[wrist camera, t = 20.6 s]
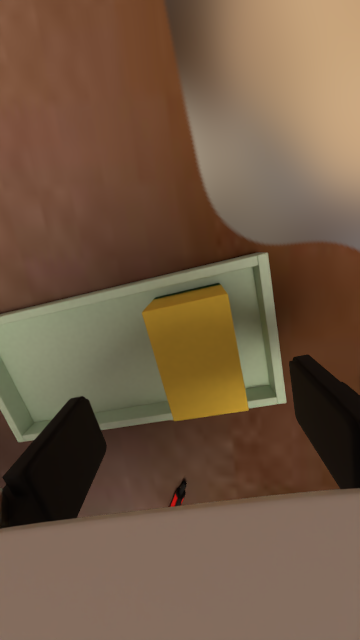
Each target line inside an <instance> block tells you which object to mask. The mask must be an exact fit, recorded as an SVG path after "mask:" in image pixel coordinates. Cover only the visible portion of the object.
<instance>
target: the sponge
mask: <svg viewBox="0 0 360 640" xmlns="http://www.w3.org/2000/svg"><path fill="white" fill-rule="evenodd" d="M142 316H143V319H144V322H145V326H146V329H147V333H148V336H149V339H150V343H151V346H152V349H153V353H154V356H155V359H156V363H157V366H158V370H159V373H160V376H161V380H162V383H163V386H164V390H165V393H166V396H167V400H168V403H169V407H170V410H171V413H172V417H173V420H174V421H180V420H187V419H194V418H200V417H207V416H214V415H221V414H228V413H234V412H241V411H248V410H249V407H248V402H247V396H246V391H245V385H244V380H243V374H242V369H241V363H240V357H239V352H238V346H237V341H236V335H235V330H234V324H233V319H232V313H231V308H230V302H229V297H228V294H227V292H226V291H225V290H224V288H223V287H222V285H221V284H220V283H216V284H211V285H207V286H202V287H198V288H194V289H189V290H185V291H180V292H176V293H172V294H167V295H163V296H158V297H155V298H154V299H153V300H152V302H151V303H150V304H149V305H148V306H147V307H146V308H145V309H144V311H143V312H142Z"/></svg>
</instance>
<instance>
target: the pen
mask: <svg viewBox="0 0 360 640" xmlns="http://www.w3.org/2000/svg"><path fill="white" fill-rule="evenodd" d="M186 484H187V483H186V481H183V483H182V485H181V488H178V489H177V491H176V493H175V496H174V498H173V501H172V503H171V506H170V507H173V506H181V504H182V501H183V499H184V497H185V490H184V489H185V487H186Z"/></svg>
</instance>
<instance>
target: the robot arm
mask: <svg viewBox="0 0 360 640" xmlns="http://www.w3.org/2000/svg"><path fill="white" fill-rule="evenodd" d="M289 367H290V375H291V384H292V392H293V400H294V409H295V415H296V418H297V421H298V423H299V424H300V426H301V428H302V429H303V431H304V432H305V434H306V435H307V437H308V439H309V440H310V442H311V443H312V445H313V446H314V448H315V450H316V451H317V453H318V454H319V456H320V457H321V459H322V461H323V462H324V464H325V465H326V467H327V468H328V470H329V472H330V473H331V475H332V476H333V478H334V479H335V481H336V483H337V484H338V486H339V487H340V489H335V490H324V491H313V492H302V493H291V494H281V495H272V496H263V497H253V498H244V499H235V500H226V501H217V502H208V503H199V504H191V505H182V506H173V507H165V508H156V509H148V510H139V511H131V512H122V513H114V514H106V515H98V516H90V517H81V518H77V516H78V513H79V511H80V509H81V507H82V504H83V502H84V500H85V498H86V495H87V493H88V491H89V488H90V486H91V484H92V482H93V479H94V477H95V475H96V473H97V470H98V468H99V466H100V464H101V461H102V459H103V457H104V455H105V452H106V442H105V439H104V437H103V434H102V432H101V429H100V427H99V424H98V422H97V419H96V417H95V414H94V412H93V409H92V406H91V404H90V401H89V400H88V399H86V398H85V397H84V396H80V397H75V398H70V399H69V400H68V401H67V403H66V404H65V405H64V406H63V407H62V408H61V410H60V411H59V412H58V413H57V414H56V415H55V417H54V418H53V419H52V420H51V421H50V422H49V424H48V425H47V426H46V427H45V428H44V429H43V431H42V432H41V433H40V434H39V435H38V436H37V438H36V439H35V440H34V441H33V442H32V443H31V445H30V446H29V447H28V448H27V449H26V450H25V452H24V453H23V454H22V455H21V456H20V457H19V459H18V460H17V461H16V462H15V463H14V464H13V466H12V467H11V468H10V469H9V470H8V471H7V473H6V474H5V475H4V476H3V479H4V481H5V482H6V486H5V487H4V488H3V489H2V488H1V487H0V640H360V395H358V394H357V393H356V392H355V391H354V390H352V389H351V388H350V387H349V386H348V385H346V384H345V383H343V382H340V381H339V380H338V379H336V378H335V377H334V376H333V375H332V374H331V373H329V372H328V371H327V370H326V369H325V368H324V367H322V366H321V365H320V364H319V363H318V362H316V361H315V360H314V359H313V358H312V357H311V356H309V355H303V356H297V357H294V358H293V361H290V362H289Z"/></svg>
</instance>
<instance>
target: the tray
mask: <svg viewBox="0 0 360 640" xmlns="http://www.w3.org/2000/svg"><path fill="white" fill-rule="evenodd" d="M216 283H220V284H221V285H222V287H223V288H224V290H225V291H226V292H227V294H228V297H229V302H230V308H231V313H232V319H233V324H234V330H235V335H236V341H237V346H238V352H239V357H240V363H241V369H242V374H243V380H244V385H245V391H246V396H247V402H248V407H249V408H254V407H261V406H268V405H275V404H282V403H286V395H285V387H284V379H283V371H282V363H281V355H280V347H279V339H278V331H277V322H276V314H275V306H274V298H273V290H272V282H271V274H270V266H269V258H268V253H254V254H250V255H245V256H241V257H237V258H233V259H229V260H225V261H220V262H216V263H212V264H208V265H204V266H199V267H195V268H191V269H187V270H183V271H179V272H174V273H170V274H166V275H162V276H158V277H154V278H149V279H145V280H141V281H137V282H133V283H128V284H124V285H120V286H116V287H112V288H108V289H103V290H99V291H95V292H91V293H87V294H83V295H78V296H74V297H70V298H66V299H62V300H57V301H53V302H49V303H45V304H41V305H37V306H32V307H28V308H24V309H20V310H16V311H12V312H7V313H3V314H0V410H1V412H2V414H3V415H4V417H5V419H6V421H7V423H8V425H9V426H10V428H11V430H12V432H13V434H14V436H15V437H16V439H17V441H18V442H24V441H31V440H35V439H36V438H37V436H38V435H39V434H40V433H41V432H42V431H43V429H44V428H45V427H46V426H47V425H48V424H49V422H50V421H51V420H52V419H53V418H54V417H55V415H56V414H57V413H58V412H59V411H60V410H61V408H62V407H63V406H64V405H65V404H66V403H67V401H68V400H69V399H70V398H75V397H80V396H84V397H85V398H86V399H88V400H89V401H90V404H91V406H92V409H93V412H94V414H95V417H96V419H97V422H98V424H99V427H100V429H101V430H105V429H112V428H119V427H126V426H133V425H139V424H146V423H153V422H160V421H166V420H173V417H172V413H171V410H170V407H169V403H168V400H167V396H166V393H165V390H164V386H163V383H162V380H161V376H160V373H159V370H158V366H157V363H156V359H155V356H154V353H153V349H152V346H151V343H150V339H149V336H148V333H147V329H146V326H145V322H144V319H143V316H142V312H143V311H144V309H145V308H146V307H147V306H148V305H149V304H150V303H151V302H152V300H153V299H154V298H155V297H158V296H163V295H167V294H172V293H176V292H180V291H185V290H189V289H194V288H198V287H202V286H207V285H211V284H216Z"/></svg>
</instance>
